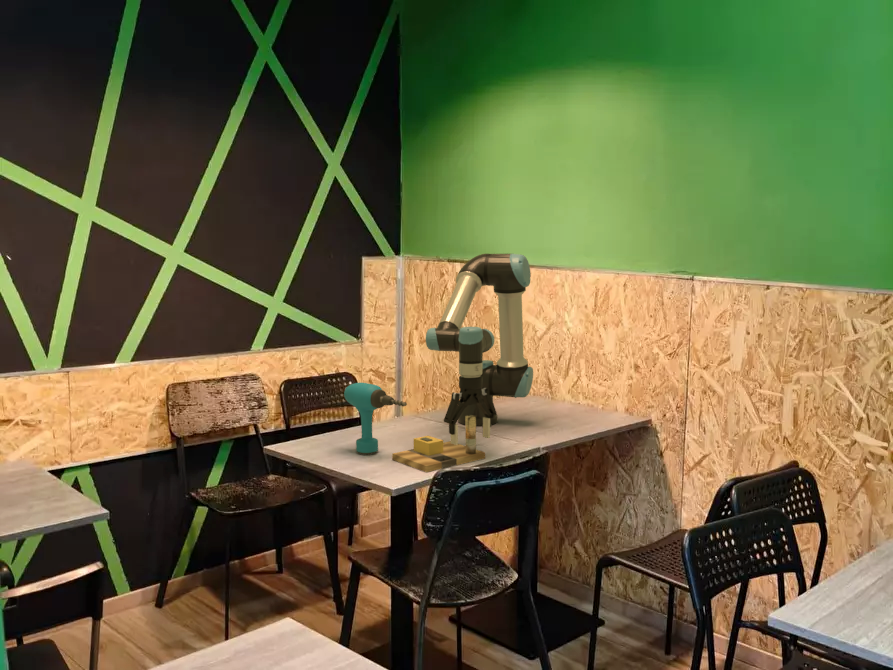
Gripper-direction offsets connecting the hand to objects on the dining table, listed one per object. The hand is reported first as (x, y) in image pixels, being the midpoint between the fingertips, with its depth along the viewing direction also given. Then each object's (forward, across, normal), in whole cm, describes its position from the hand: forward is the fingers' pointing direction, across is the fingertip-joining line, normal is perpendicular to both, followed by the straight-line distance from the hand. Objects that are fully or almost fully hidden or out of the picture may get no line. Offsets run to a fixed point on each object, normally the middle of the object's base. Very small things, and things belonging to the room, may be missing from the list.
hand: (470, 440), depth 273 cm
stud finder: (+4, -9, +10) cm, 14 cm away
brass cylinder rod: (+4, 0, 0) cm, 4 cm away
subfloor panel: (+6, -8, +7) cm, 12 cm away
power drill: (+6, -21, +23) cm, 32 cm away
